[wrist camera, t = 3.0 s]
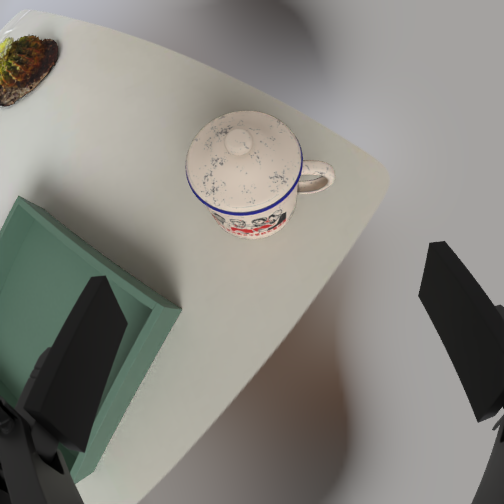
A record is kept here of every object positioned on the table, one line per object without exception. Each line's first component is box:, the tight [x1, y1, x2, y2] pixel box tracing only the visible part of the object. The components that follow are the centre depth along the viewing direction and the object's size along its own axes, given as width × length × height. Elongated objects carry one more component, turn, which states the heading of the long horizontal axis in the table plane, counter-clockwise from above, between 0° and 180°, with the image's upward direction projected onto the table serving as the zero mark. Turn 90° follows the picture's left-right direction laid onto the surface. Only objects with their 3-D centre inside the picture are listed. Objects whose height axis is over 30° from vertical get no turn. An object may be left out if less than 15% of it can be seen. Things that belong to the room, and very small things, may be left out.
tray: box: [0, 196, 182, 484], centre depth 29 cm, size 24×24×5 cm
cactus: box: [0, 34, 58, 106], centre depth 38 cm, size 17×16×10 cm
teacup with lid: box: [186, 111, 335, 239], centre depth 27 cm, size 12×9×12 cm
